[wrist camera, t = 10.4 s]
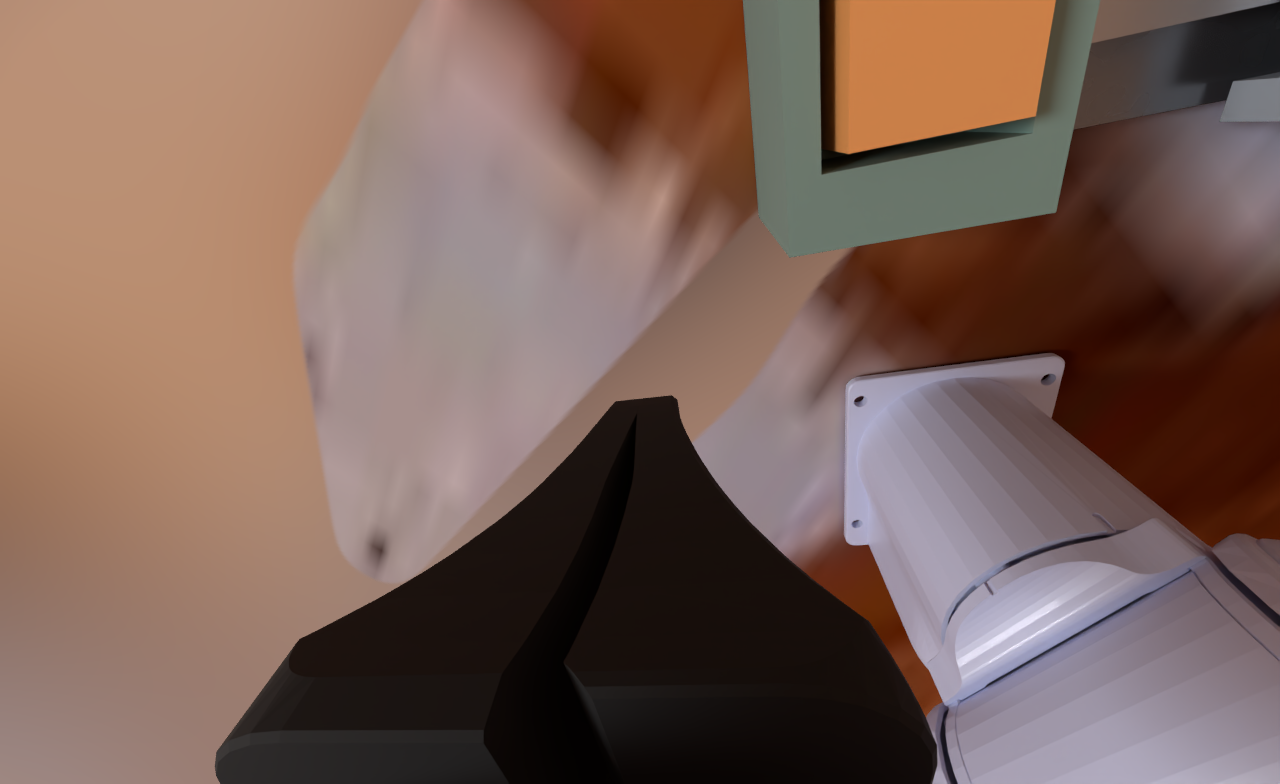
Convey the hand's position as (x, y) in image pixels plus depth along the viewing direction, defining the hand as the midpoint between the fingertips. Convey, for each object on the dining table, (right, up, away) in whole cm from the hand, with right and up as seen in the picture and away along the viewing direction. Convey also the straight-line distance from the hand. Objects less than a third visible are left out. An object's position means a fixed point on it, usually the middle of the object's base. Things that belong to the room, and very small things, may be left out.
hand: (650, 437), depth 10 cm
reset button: (+6, +10, +2) cm, 11 cm away
